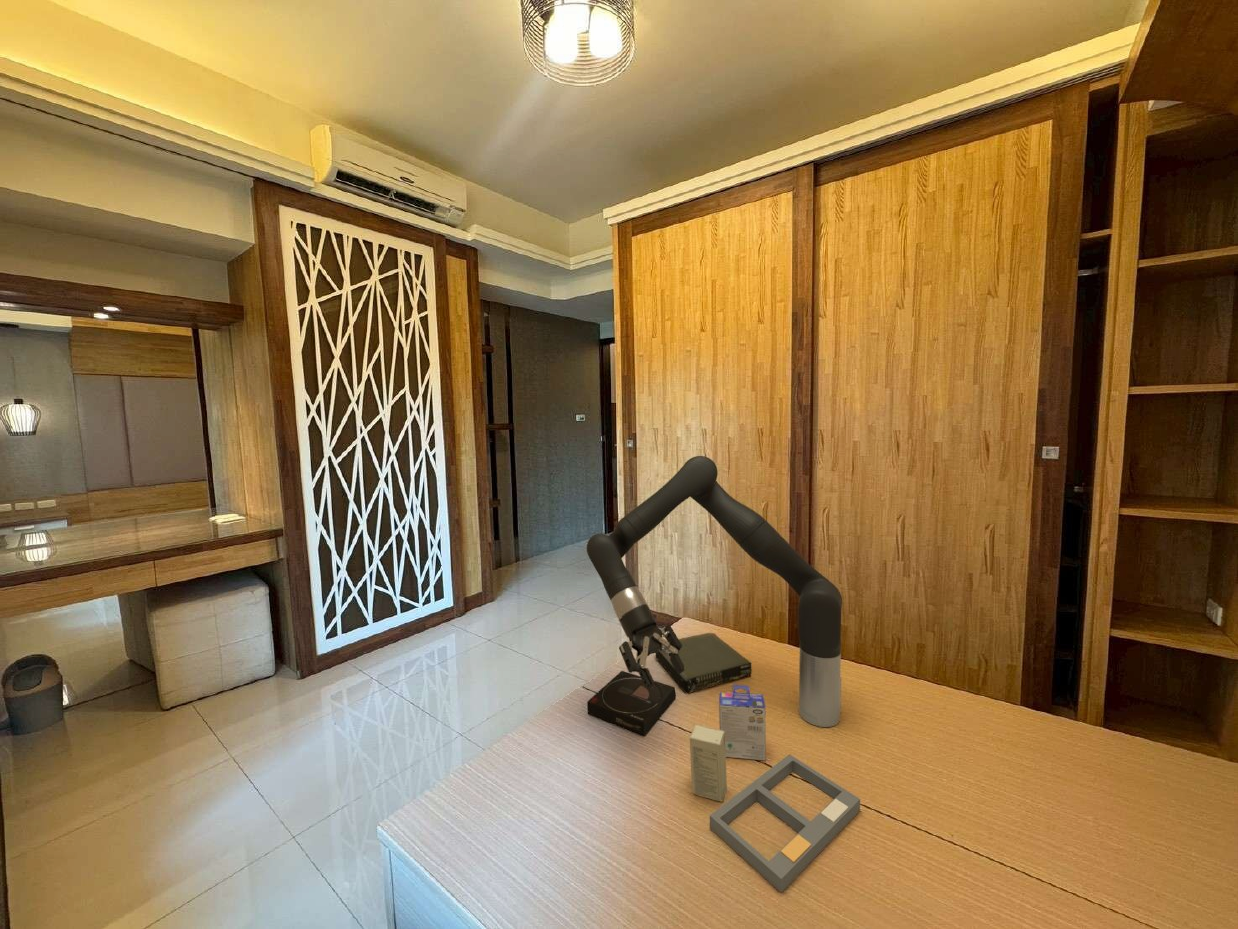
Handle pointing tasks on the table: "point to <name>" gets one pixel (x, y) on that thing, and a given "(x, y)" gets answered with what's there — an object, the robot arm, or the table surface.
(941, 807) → the table surface
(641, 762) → the table surface
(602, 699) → the portable cd player
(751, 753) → the ink cartridge box
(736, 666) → the network switch
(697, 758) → the skincare box
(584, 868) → the table surface
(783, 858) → the grey divided frame
